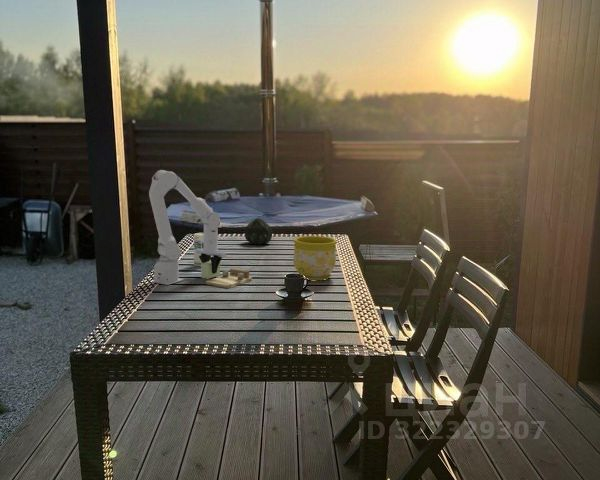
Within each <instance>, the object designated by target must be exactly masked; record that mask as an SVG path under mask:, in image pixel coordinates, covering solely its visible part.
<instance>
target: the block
mask: <svg viewBox="0 0 600 480" xmlns="http://www.w3.org/2000/svg"><path fill="white" fill-rule="evenodd" d="M220 275H221V262H220V263H219V266H218V269H217V273H214V274H213V273H212V264H211V261H209V262H205V263H201V266H200V278H201V279H205V278H206V280H210V279H212V278H215V277H216V278H217V277H220Z"/></svg>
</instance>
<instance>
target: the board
mask: <svg viewBox="0 0 600 480" xmlns="http://www.w3.org/2000/svg"><path fill="white" fill-rule="evenodd" d="M252 280H253V277H252V276H250V271H249V270H243V269H237V268H229V270H222V275H221V276H217V277H216V278H215V277H214V278H213V279H212V278H210V279H207V280H206V281H205V285H208V286H214V287H218V288H225V289H231V288H233V287H236V286H239V285H242V284H245V283H247V282H252Z"/></svg>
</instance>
